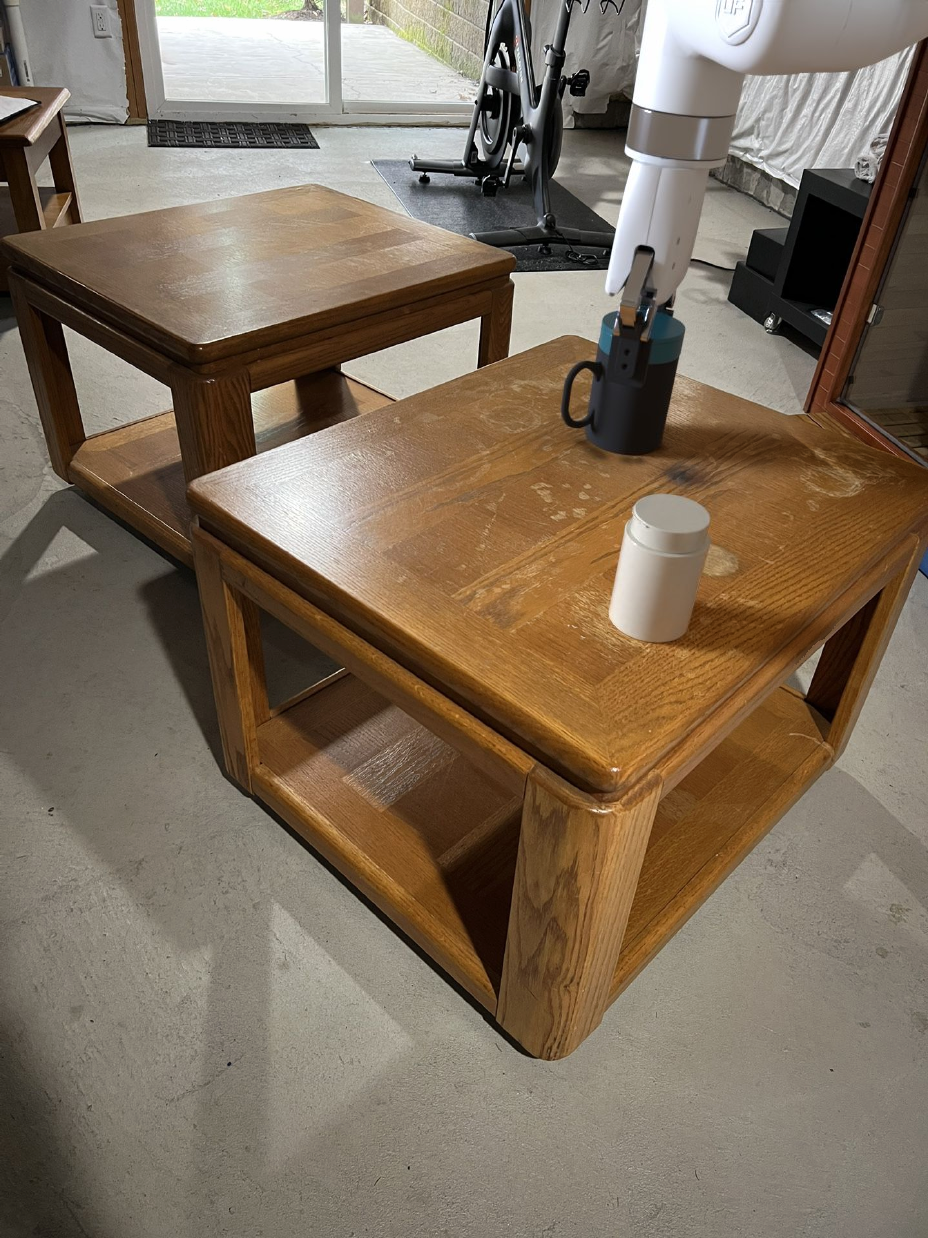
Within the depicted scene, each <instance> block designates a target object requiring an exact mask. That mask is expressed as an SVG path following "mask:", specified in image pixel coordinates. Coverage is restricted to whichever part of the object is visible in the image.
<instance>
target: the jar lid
mask: <svg viewBox="0 0 928 1238" xmlns="http://www.w3.org/2000/svg"><path fill="white" fill-rule="evenodd" d="M618 311H619V310H613V311H611V312H608V313H607V314H605V315H604V316H603V317H602V319H601V326H600V334H599V338H600V339H599V338H598V342H599V346H600V348H601V350H602V351H604V352H605V353H606V354H608V355H609V352H610V346H611V340H612V334H613V331H614V326H615V322H616V318H617V315H618ZM639 312H643V316H644V317H645V318H646V314H647V310H639ZM644 322H645V320H644ZM685 334H686V326H685V324H684V323H683V322H682V321H681V320H679V319H678V318H676V317H674V316H673V317H671V316H669V315H666V314H662V313H658V312H656V315H655V319H654V323H653V326H652V330H651V334H650V337H649V338H650V339H653V343H652V348H651V354H650V359H649V364H661V363H667V362H671V361H673V360H676V359H677V358H678V357H679V358H680V356H681V354H682V349H683V344H684V341H685V340H684V339H685Z"/></svg>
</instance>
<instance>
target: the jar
mask: <svg viewBox="0 0 928 1238" xmlns="http://www.w3.org/2000/svg"><path fill="white" fill-rule="evenodd" d="M631 514H632V517H631V518H629V520H627V522H626V523H625V525H624V531H623V534H622V535H623V536H622V541H621V546H620V551H619V557H618V562H617V567H616V572H615V575H614V576H615V577H614V580H613V581H614V582H613V586H612V591H611V596H610V597H611V598H610V601H609V606H608V617H609V620H610V622H611V624H613V626H614V627H615V628H616V629H617V630H619V631H620V632H621V633H623V634H624V635H626V636H628V637H631V638H632V639H635V640H638V641H642V642H646V643H657V644H659V643H669V642H672V641H673V642H674V641H675V640H678V639H680V638H681V637H683V636H684V635H685V634H686V633H687V631H688V630H689V626H690V623H691V619H692V615H693V612H694V607H695V604H696V600H697V596H698V592H699V588H700V586H701V585H700V584H701V582H702V581H701V580H702V577H703V574H704V569H705V566H706V562H707V558H708V555H709V550H710V547H711V540H712V539H711V536H710V533H709V528H710V525H711V521H712V519H711V515H710V513H709V511H708V510H707V509H706V508H705V507H704V506H703V505H702V504H700V503H698V502H697V501H695V500H693V499H691V498H688V497H684V496H681V495H678V494H677V495H676V494H672V493H671V494H670V493H656V494H649V495H646V496H643V497H641V498H640V499H638V500H637V501H636V502H635V504H634V505H633V506H632V510H631Z"/></svg>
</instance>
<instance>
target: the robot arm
mask: <svg viewBox="0 0 928 1238" xmlns="http://www.w3.org/2000/svg"><path fill="white" fill-rule="evenodd" d="M642 31H643V32H642V36H641V37H642V38H641V44H640V51H639V56H638V63H637V64H638V65H637V69H636V70H637V71H636V76H635V84H634V90H633V95H632V96H633V98H632V103H631V109H630V114H629V120H628V121H629V122H628V128H627V134H626V140H625V146H624V153H625V155H626V156H627V157H629V158H631V159H632V163H631V166H630V169H629V173H628V176H627V180H626V184H625V187H624V191H623V192H624V193H623V196H622V201H621V204H620V209H619V213H618V214H619V215H618V219H617V224H616V229H615V234H614V239H613V244H612V249H611V254H610V259H609V264H608V269H607V275H606V279H605V284H604V285H605V286H604V291H605V293H606V294H607V296H608V297H611V298H613V297H614V296H616V295H618V294H619V293H620V292H621V291H622V290H623V292H622V295H621V298H620V301H619V307H618V310H617V311H618V315H617V318H616V322H615V326H614V331H613V334H612V340H611V346H610V352H609V358H608V364H607V370H606V380H607V381H609V382H613V383H618V384H622V385H627V386H631V387H636V388H641V387H642V386H643V385H644V383H645V379H646V374H647V369H648V364H649V359H650V354H651V348H652V343H653V339H650V338H649V337H650V334H651V330H652V326H653V323H654V319H655V315H656V312H658V313H662V314H666V315H669V316H671V317H674V314H675V310H674V305H675V302H676V297H677V290H678V288H679V287H680V285H681V284H682V282H683V280H684V278H685V277H686V276H687V273H688V270H689V267H690V264H691V259H692V255H693V251H694V247H695V244H696V239H697V235H698V230H699V225H700V222H701V221H700V220H701V216H702V211H703V205H704V202H705V197H706V191H707V185H708V183H709V174H710V169H717V168H721V167H725V165H726V164H727V161H728V156H729V151H730V146H731V142H732V137H733V133H734V128H735V123H736V118H737V113H738V109H739V106H740V101H741V97H742V92H743V87H744V83H745V79H746V75H748V76H759V77H769V76H770V77H772V76H793V75H799V74H824V73H825V74H826V73H829V74H830V73H834V74H836V73H847V72H852V71H858V70H861V69H864V68H867V67H870V66H873V65H875V64H879V63H880V62H882V61H885V60H886V59H889V58H891V57H893V56H894V55H897V54H898V53H900V52H902V51H904V50H906V49H908V48H910V47H912V46H913V45H915V44H917V43H919V42H921V41H922V40H924V39H927V38H928V0H647V5H646V11H645V19H644V25H643V30H642ZM639 310H647V314H646V318H645V317H644V316H643V312H639ZM644 320H645V322H644Z"/></svg>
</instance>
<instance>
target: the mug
mask: <svg viewBox="0 0 928 1238" xmlns="http://www.w3.org/2000/svg"><path fill="white" fill-rule="evenodd" d="M599 339H600V337H599V338H598V340H599ZM608 358H609V355H608V354H606V353H605V352H604V351H602V350H601V348H600V346H599V341H598V342H597V348H596V356H595V361H592V360H582V361H579V362H578V363H576V364H575V365H573V367H572V368H571V369H570V370H569V372H568V374H566V375H567V376H566V378H565V379H564V383H563V390H562V396H561V404H560V405H561V406H560V414H561V418H562V421H563V422H564V424H565V425H566V426H567V427H568V428H572V429H582V428H584V435H585V438H586V439H587V441H588V442H590V444H592V445H593V446H595V447H597V448H598V449H601V450H604V451H607V452H610V453H614V454H619V455H627V456H635V455H636V456H638V455H644V454H649V453H653V452H654V451H656V450H657V449H659V448H660V446H662V443H663V437H664V432H665V428H666V423H667V419H668V415H669V409H670V405H671V401H672V400H671V399H672V394H673V390H674V386H675V380H676V376H677V372H678V371H677V370H678V366H679V361H680V356H679V357H678V358H677V359H676V360H673V361H671V362H667V363H661V364H648V369H647V374H646V379H645V383H644V385H643V386H642V387H641V388H636V387H631V386H627V385H622V384H618V383H613V382H609V381H607V380H606V370H607V364H608ZM585 369H587V370H589V371H590V372H591V373H592V382H591V389H590V394H589V402H588V406H587V408H588V409H587V413H586V414H587V415H586V416H585V417H584V418H583V419H580V420H574V419H573V418H572V416H571V415H570V404H571V403H570V402H571V395H572V390H573V389H572V388H573V383H574V381H575V379H576V377H577V376H578V374H579V373H581V372H582V371H583V370H585Z"/></svg>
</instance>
